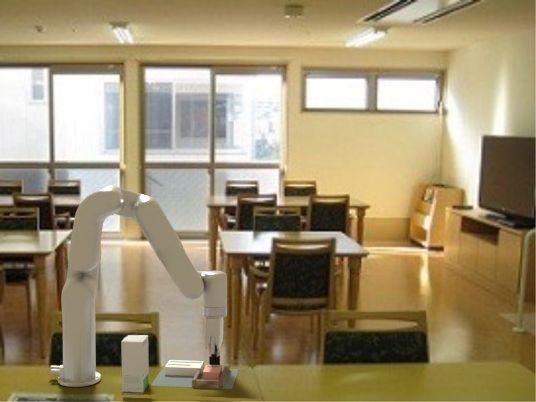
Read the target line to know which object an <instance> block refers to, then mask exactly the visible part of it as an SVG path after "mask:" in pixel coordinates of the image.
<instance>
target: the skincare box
mask: <svg viewBox="0 0 536 402" xmlns="http://www.w3.org/2000/svg"><path fill="white" fill-rule="evenodd" d="M120 345H121V347H120V349H121V392H122V393H121V395H123V396H124V395H125V396H126V395H127V396H143V395H144V392H145V391H146V389H147V388H148V386H149V383H150V374H149V373H150V372H149V370H150V369H149V367H150V365H149V364H150V363H149V335H147V334H142V335H141V334H140V335H139V334H131V335H130V334H128V335H126V336H125V337H123V339H122V340H121V343H120Z"/></svg>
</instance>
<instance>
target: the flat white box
mask: <svg viewBox="0 0 536 402" xmlns="http://www.w3.org/2000/svg"><path fill="white" fill-rule="evenodd" d="M204 368H205V361H204V360H180V359H179V360H177V359H170V360H168V361H167V363H166V364H165V375H183V376H195V374H196V372H197V370H201V374H202V372H203V370H204Z"/></svg>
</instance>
